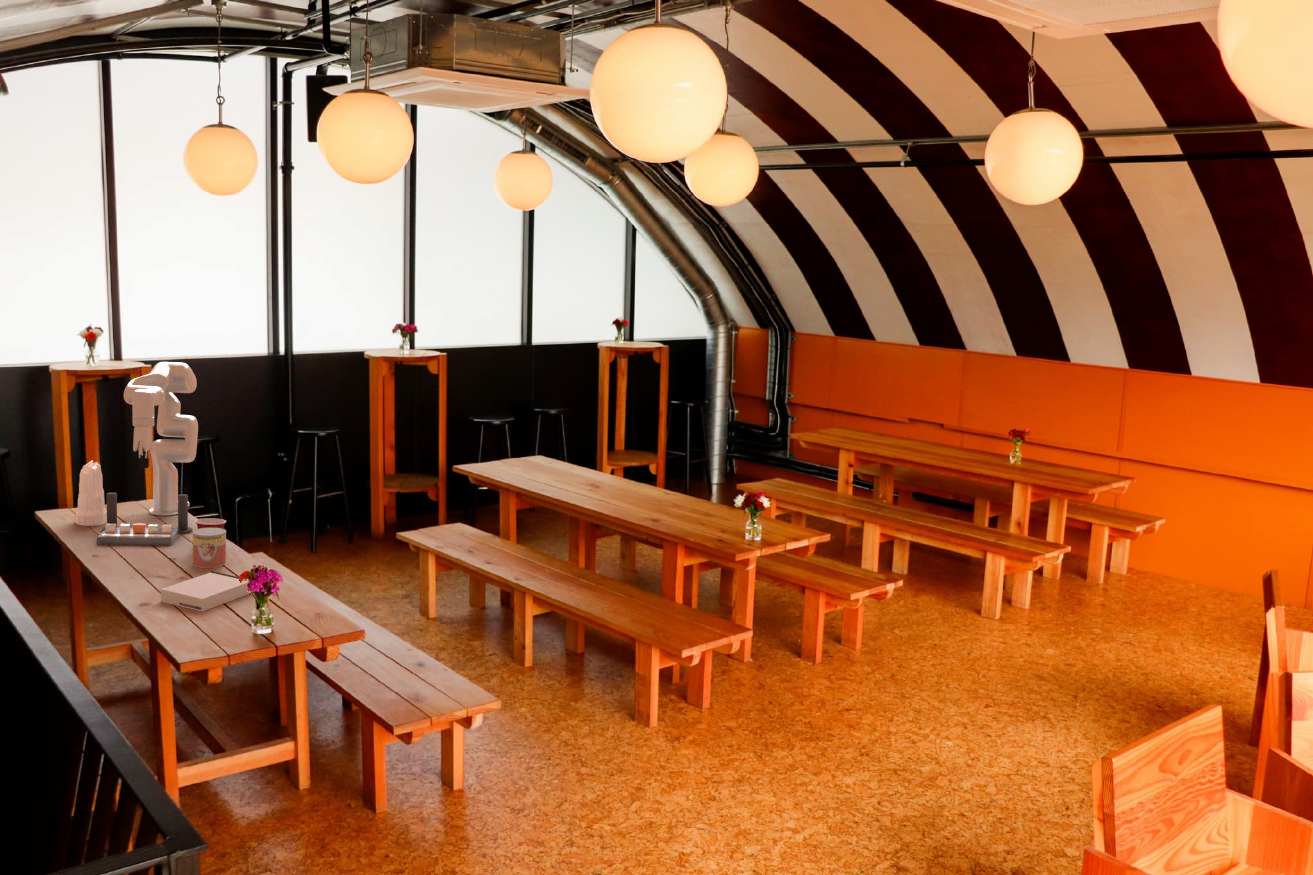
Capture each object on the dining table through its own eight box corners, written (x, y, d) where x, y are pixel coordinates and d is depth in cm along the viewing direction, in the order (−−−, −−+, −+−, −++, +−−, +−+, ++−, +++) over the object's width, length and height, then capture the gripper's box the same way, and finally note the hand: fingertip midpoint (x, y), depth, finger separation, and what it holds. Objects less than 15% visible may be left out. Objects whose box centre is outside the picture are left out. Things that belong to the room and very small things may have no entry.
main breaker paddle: (134, 530, 401) (134, 523, 401) (145, 531, 402) (145, 523, 402) (132, 532, 399) (132, 524, 399) (144, 532, 400) (144, 524, 400)
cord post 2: (188, 528, 422) (188, 492, 419) (195, 532, 417) (195, 496, 414) (170, 530, 417) (170, 494, 414) (177, 534, 412) (177, 498, 409)
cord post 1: (118, 527, 416) (117, 490, 413) (124, 531, 411) (124, 494, 409) (99, 529, 411) (98, 492, 408) (105, 533, 406) (105, 496, 403)
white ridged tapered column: (96, 526, 414) (96, 465, 410) (70, 524, 414) (69, 463, 410) (111, 520, 425) (111, 460, 421) (85, 518, 425) (84, 458, 421)
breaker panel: (107, 534, 405) (107, 519, 404) (179, 535, 411) (179, 520, 410) (97, 544, 392) (96, 529, 391) (171, 545, 398) (171, 530, 397)
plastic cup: (231, 548, 400) (231, 517, 398) (216, 555, 390) (216, 524, 388) (204, 545, 401) (204, 515, 399) (189, 552, 390) (189, 521, 389)
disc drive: (252, 594, 353) (253, 580, 352) (202, 613, 332) (202, 598, 331) (211, 584, 359) (212, 571, 358) (160, 602, 338) (160, 588, 337)
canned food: (190, 567, 373) (190, 535, 371) (195, 558, 384) (195, 527, 382) (223, 567, 376) (224, 535, 374) (227, 558, 387) (228, 527, 385)
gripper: (138, 417, 407) (138, 462, 411) (127, 424, 393) (128, 472, 396) (158, 418, 409) (159, 463, 412) (149, 425, 394) (149, 472, 398)
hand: (144, 467), depth 404 cm, fingers closed
